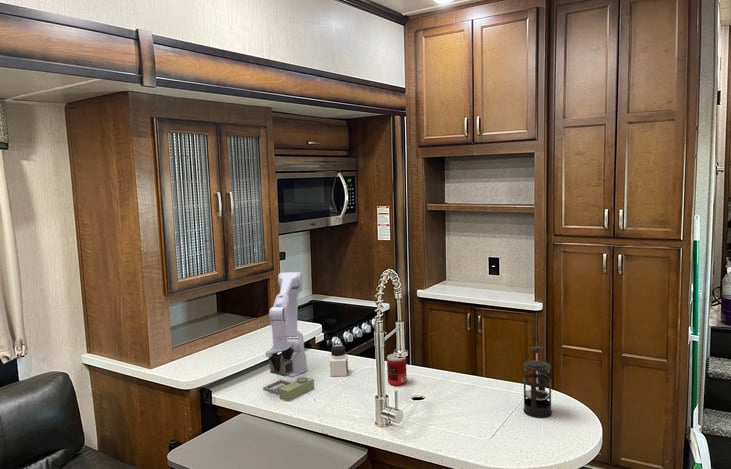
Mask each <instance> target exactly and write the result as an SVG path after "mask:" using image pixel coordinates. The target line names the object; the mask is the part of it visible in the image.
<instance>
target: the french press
mask: <svg viewBox="0 0 731 469" xmlns="http://www.w3.org/2000/svg"><path fill="white" fill-rule="evenodd" d="M530 350H532V351H535V356H536V357H535V358H536V360H532V359H531V360H526V361H524V362H523V364H522V365H523V367H524V372H525V373H526V372H529V371H531V370H532V371H536V373H528V374H526V375H524V376H523V413H524V414H525V415H527V416H528V417H531V418H537V419H545V418H549V417H551V416H552V414H553V411H552V379H551V377H550V376H548V374H550V369H551V368H552V366H551V364H550V363H549V362H547V361H543V360H538V354H539V351H540V352H541V351H543V350H544V348H543V347H541V346H538V345H536V346H531V347H530ZM531 378H536V382H530V381H528V379H531ZM546 381H547V382H546ZM527 386H528V387H530V389H527V388H526V387H527ZM546 387H547V388H549V389H548V391H549V392H548V391H547V390H546Z"/></svg>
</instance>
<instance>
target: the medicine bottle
mask: <svg viewBox="0 0 731 469" xmlns="http://www.w3.org/2000/svg"><path fill="white" fill-rule="evenodd" d="M330 352H331V353H330V358H329V372H330V377H332V378H333V377H347V376H348V375H349V374H348V372H349V362H348V354H346V346H344V345H341V344H337V345H333V346H332V347H331V349H330Z"/></svg>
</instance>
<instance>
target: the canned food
mask: <svg viewBox="0 0 731 469" xmlns="http://www.w3.org/2000/svg"><path fill="white" fill-rule="evenodd" d="M386 368H387V370H386V371H387V382H388V385H390V386H391V387H392V386H393V387H402V386H404V385H406V384H407V381H408V380H407V378H408V377H407V356H406V357H403V358H398V357H395V356H394V353H391V354H388V355H387V356H386Z"/></svg>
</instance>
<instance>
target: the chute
mask: <svg viewBox="0 0 731 469" xmlns="http://www.w3.org/2000/svg"><path fill="white" fill-rule="evenodd" d="M269 370H270V371H269V372H270V374H274V375H278V376H283V377H286V376H288V375H289V374H291V373H293V360H290V359H285V358H283V357H281V359H280V371H279V372H276V371H275V370H274V367H273V365H272V362H271V361H270V360H269Z"/></svg>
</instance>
